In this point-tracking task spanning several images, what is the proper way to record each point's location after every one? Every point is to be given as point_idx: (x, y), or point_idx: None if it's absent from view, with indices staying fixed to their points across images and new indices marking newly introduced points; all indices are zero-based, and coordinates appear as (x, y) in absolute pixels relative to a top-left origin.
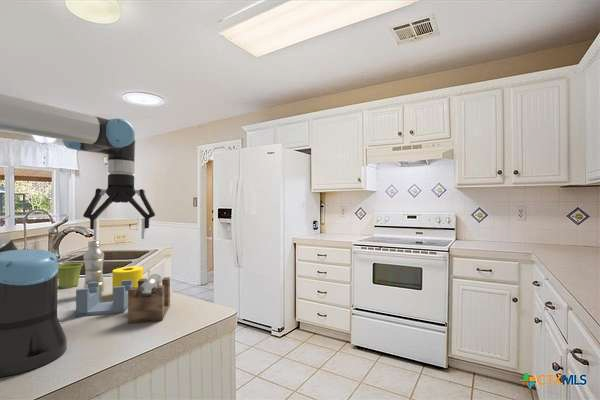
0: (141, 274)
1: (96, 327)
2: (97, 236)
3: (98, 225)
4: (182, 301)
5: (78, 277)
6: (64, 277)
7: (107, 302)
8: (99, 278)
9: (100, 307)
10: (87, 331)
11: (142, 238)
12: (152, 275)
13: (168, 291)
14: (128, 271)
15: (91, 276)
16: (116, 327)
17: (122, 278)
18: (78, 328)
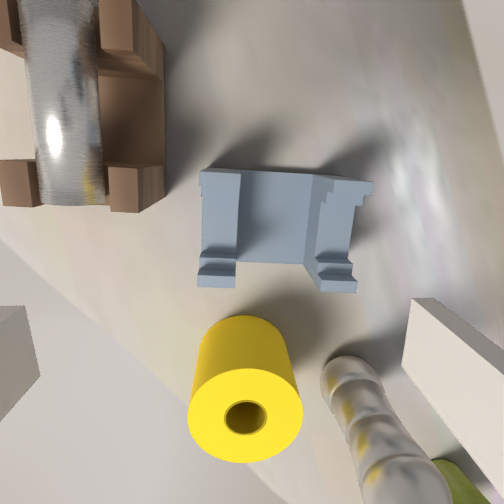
0: (192, 389)
1: (253, 46)
2: (423, 344)
3: (501, 459)
4: (37, 226)
5: None
6: (464, 488)
7: (278, 258)
8: (343, 399)
9: (286, 210)
10: (270, 16)
11: (12, 306)
12: (62, 171)
13: (31, 159)
14: (233, 376)
15: (371, 398)
16: (191, 22)
17: (253, 353)
18: (304, 56)
